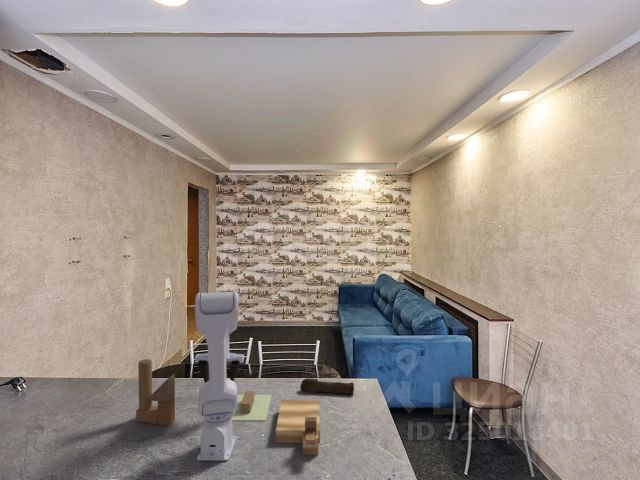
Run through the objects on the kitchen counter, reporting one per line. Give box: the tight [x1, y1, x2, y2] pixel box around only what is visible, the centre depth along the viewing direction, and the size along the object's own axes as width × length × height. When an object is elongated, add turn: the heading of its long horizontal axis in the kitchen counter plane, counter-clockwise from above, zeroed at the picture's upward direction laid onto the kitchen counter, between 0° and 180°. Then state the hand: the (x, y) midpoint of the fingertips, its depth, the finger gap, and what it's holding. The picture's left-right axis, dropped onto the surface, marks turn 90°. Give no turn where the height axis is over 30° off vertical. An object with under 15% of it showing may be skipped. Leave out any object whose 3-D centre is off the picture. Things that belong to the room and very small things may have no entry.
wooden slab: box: [275, 399, 321, 456], centre depth 100 cm, size 21×12×4 cm, turn 1°
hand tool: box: [300, 378, 355, 397], centre depth 124 cm, size 19×4×5 cm, turn 82°
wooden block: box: [135, 358, 176, 427], centre depth 104 cm, size 4×11×18 cm, turn 79°
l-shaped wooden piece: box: [305, 417, 317, 445], centre depth 90 cm, size 6×3×4 cm, turn 1°
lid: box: [232, 390, 273, 422], centre depth 113 cm, size 15×12×4 cm
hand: (219, 384), depth 108 cm, fingers open, 7 cm apart
